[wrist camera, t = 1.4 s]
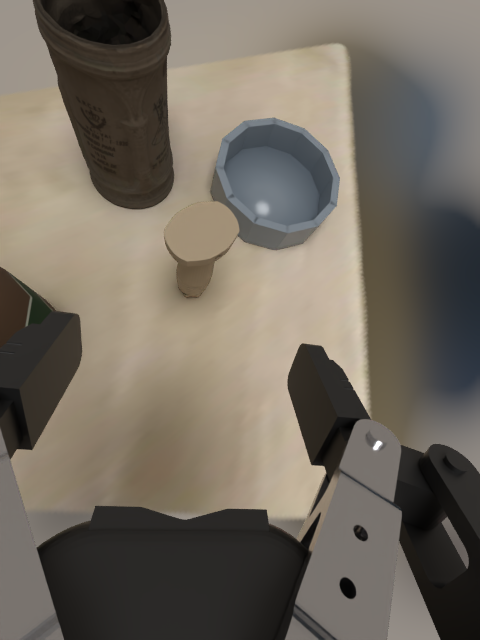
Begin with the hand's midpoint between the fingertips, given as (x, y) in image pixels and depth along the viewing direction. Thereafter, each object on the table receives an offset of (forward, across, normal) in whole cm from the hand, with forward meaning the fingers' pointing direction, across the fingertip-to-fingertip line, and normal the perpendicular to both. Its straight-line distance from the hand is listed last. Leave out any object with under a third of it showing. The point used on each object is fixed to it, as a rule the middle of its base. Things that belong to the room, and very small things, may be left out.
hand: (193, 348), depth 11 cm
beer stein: (+39, +10, -2) cm, 40 cm away
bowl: (+39, -10, -1) cm, 40 cm away
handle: (+27, 0, +11) cm, 29 cm away
